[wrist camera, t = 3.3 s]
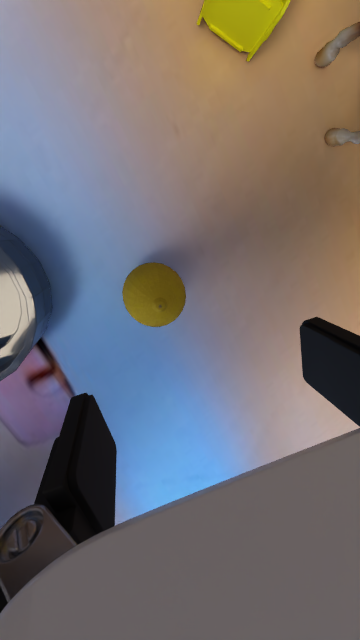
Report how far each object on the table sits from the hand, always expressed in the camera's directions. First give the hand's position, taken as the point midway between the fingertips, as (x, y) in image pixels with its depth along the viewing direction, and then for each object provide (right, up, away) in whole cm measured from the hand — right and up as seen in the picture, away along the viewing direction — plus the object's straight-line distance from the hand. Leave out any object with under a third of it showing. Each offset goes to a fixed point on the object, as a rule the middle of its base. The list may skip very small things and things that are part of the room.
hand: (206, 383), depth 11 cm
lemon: (-4, +6, +16) cm, 18 cm away
